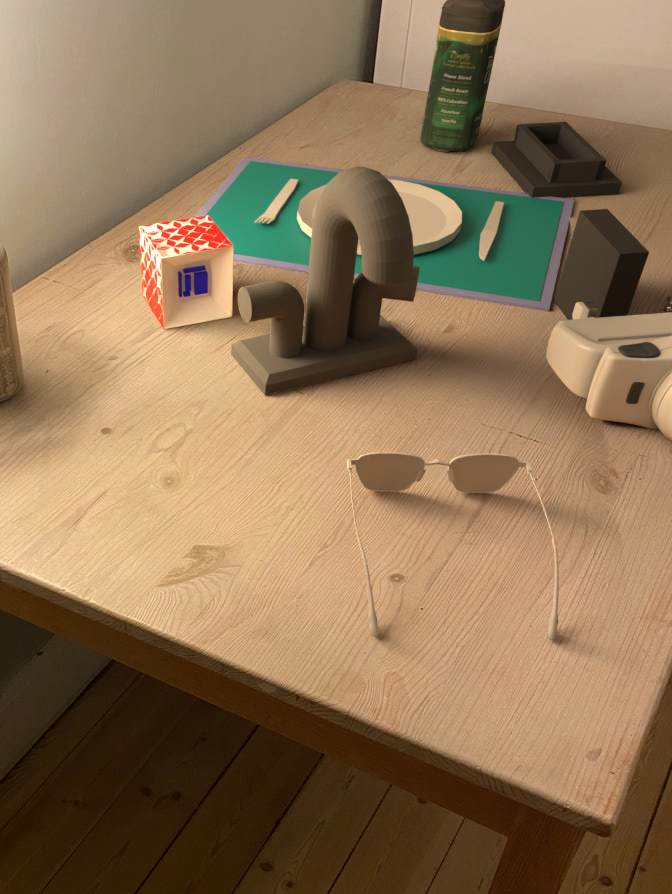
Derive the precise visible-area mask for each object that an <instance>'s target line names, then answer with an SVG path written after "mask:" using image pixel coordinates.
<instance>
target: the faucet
mask: <svg viewBox="0 0 672 894" xmlns="http://www.w3.org/2000/svg"><path fill="white" fill-rule="evenodd" d="M342 170H343V171H341V172H340V173H338V174H337V175H336V176H335V177H334V178H333V179H332V180H331V181H330V182H329V183H328V184H327V185H326V186H325V188H324V190H323V192H322V194H321V196H320V198H319V200H318V202H317V206H316V210H315V214H314V217H313V226H312V236H311V249H310V261H309V273H307V286H306V296H305V297H306V299H305V301H304V299H303V297H302V295H301V293H300V292H299V290H298V289H297V288H296V287H295V286H294V285H293V284H291V283H289V282H286V281H283V280H271V281H266V282H261V283H256V284H250V285H245V286H241V287H240V288H239V290H238V292H237V307H238V311H239V313H240V317H241V318H242V319H241V320H243V321H244V322H245V323H252V322H257V321H262V320H266V319H270V325H269V327H270V328H269V333H267V334H262V335H257V336H253V337H249V338H245V339H241V340H238V341H236V342H233V343H232V344H231V346H230V354H231V357H233V359H235V361H236V362H237V363H238V365H239V366H240V367H241V368H242V369H243V371H244V372H245V373H246V374H247V375H248V377H249V378H250V379H251V380H252V382H253V383H254V384H255V386H256V387H257V388H258V389H259V390H260V392H262V394H263V395H264V396H269V395H272V394H277V393H281V392H285V391H288V390H294V389H297V388H301V387H305V386H310V385H314V384H319V383H322V382H326V381H330V380H334V379H339V378H344V377H348V376H351V375H355V374H359V373H364V372H368V371H372V370H376V369H379V368H385V367H388V366H392V365H396V364H400V363H405V362H409V361H413V360H416V359H417V354H418V348H417V347H416V346H415V345H414V344H413V343H412V342H411V341H410V340H409V339H408V338H406V337H405V336H404V335H403V334H402V333H401V332H400V331H399V330H397V328H396V327H394V326H393V325H392V324H391V322H389V321H388V320H387V319H386V318H385V317H384V316H383V315H381V311H382V304H383V299H386V300H387V299H388V300H394V301H404V302H414V301H415V297H416V292H417V291H416V288H417V282H418V276H419V269H420V266H413V262H414V249H413V235H412V230H411V226H410V221H409V216H408V214H407V211H406V208H405V206H404V203H403V201H402V198H401V197H400V195H399V194H398V192H397V190H396V189H395V187H394V186H393V184H392V183H391V182H390V181H389V180H388V179H387V178H385V177H384V176H383V175H384V174H382V172H380V171H378V170H375V169H373V168H370V167H367V166H355V167H350V168H347V169H342ZM358 239H359V242H360V246H361V254H362V272H361V273H360V274H359V275H358V276H357V278H356V279H355V281H354V272H355V264H356V256H357V247H358ZM304 302H305V303H304Z"/></svg>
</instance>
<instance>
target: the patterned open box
mask: <svg viewBox="0 0 672 894" xmlns="http://www.w3.org/2000/svg"><path fill="white" fill-rule="evenodd" d="M138 236H139V249H140V250H139V253H140V255H139V256H140V270H141V271H140V273H141V289H142V293H141V294H142V298H143V299H144V301H145V302H146V303H147V305H148V307H149V308H150V310H151V311H152V313H153V315H154V316H155V318H156V319H157V321H158V323H159V324H160V326H161V328H162V329H163V330H166V329H172V328H179V327H185V326H190V325H194V324H201V323H206V322H211V321H216V320H222V319H227V318H232V317H233V305H234V304H233V302H234V299H233V295H234V294H233V293H234V289H233V288H234V262H233V258H234V246H233V245H232V243H231V242H230V241H229V240H228V239H227V237H226V236H225V235H224V234H223V232H222V231H221V230H220V229H219V228H218V226H217V225H216V224H215V223H214V221H213V220H212V219H211V218H210V216H209V215H207V216H201V217H194V216H193V217H188V218H182V219H176V220H170V221H169V220H168V221H162V222H156V223H150V224H144V225H143V224H142V225H139V226H138Z"/></svg>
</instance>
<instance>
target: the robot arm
mask: <svg viewBox="0 0 672 894" xmlns="http://www.w3.org/2000/svg"><path fill="white" fill-rule="evenodd" d="M597 309H598V308H597V307H596V306H595V305H594V304H593V302H577V303H576V304H575V307H574V310H573V314H572V317H573V320H568V319H562V320H559V321H557V322H556V324H555V325H554V326H553V328H552V330H551V333H550V335H549V339H548V343H547V345H546V346H547V347H546V351H545V352H546V353H545V357H546V361H547V362H548V364H549V366H550V368H551V369H552V370H553V372H554V373H555V374H556V376H557V377H558V378H559V379H560V381H561V382H562V383H563V384H564V385H565V387H566V388H567V389H568V390H569V391H570V392H571V393H573V394H574V395H576V396H578V397H580V398H582V399H586V403H585V412H586V413H587V414H588V416H590V417H591V418H592V419H594V420H599V421H608V422H614V423H615V422H616V423H624V424H630V425H633V426H634V425H635V426H639V427H643V428H646V429H649V430H655V431H660V432H661V434H662V435H663V436H664V437H665V438H666V439H667V440H669V441H670V442H672V295H668V296H667V298H666V302H665V304H664V306H663V312H657V313H656V312H655V313H643V314H642V313H641V314H632V315H631V314H630V315H629V314H627V316H615V317H601V318H595V317H594V316H595V315H596V312H597Z"/></svg>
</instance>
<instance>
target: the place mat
mask: <svg viewBox="0 0 672 894" xmlns="http://www.w3.org/2000/svg"><path fill="white" fill-rule="evenodd" d="M343 170H344V169H341V168H333V167H327V166H318V165H309V164H302V163H294V162H288V161H287V162H286V161H279V160H271V159H263V158H262V159H261V158H255V157H248V156H244V158H243V159H241V161H240V162H239V163H238V164H237V166H236V167H235V168H234V169H233V171H232V172H231V173H230V174H229V175H228V176H227V177H226V178H225V180H224V181H223V182H222V184H221V185H220V186H219V187H218V188H217V189H216V190H215V192H214V193H213V194H212V195H211V197H209V199H208V200H207V201H206V202H205V203H204V204H203V206H202V207H201V208H200V209H199V210H198V212H197V213H196V214H195V215H194V216H193V218H194V217H201V216H207V215H209V216H210V218H211V219H212V220H213V221H214V223H215V224H216V225H217V226H218V228H219V229H220V230H221V231H222V232H223V234H224V235H225V236H226V237H227V239H228V240H229V241H230V242H231V243H232V245H233V246H234V258H233V261H235V262H234V263H239V262H241V263H240V264H245V263H247V264H246V265H252V266H257V265H259V266H258V267H264V266H265V268H270V267H272V268H271V269H276V268H277V269H276V270H283V271H290V272H295V271H297V272H296V273H302V272H304V273H303V274H308V273H309V261H310V249H311V236H312V226H313V217H314V214H315V210H316V206H317V202H318V200H319V198H320V196H321V194H322V192H323V190H324V188H325V186H326V185H327V184H328V183H329V182H330V181H331V180H332V179H333V178H334V177H335V176H336V175H337V174H338V173H340V172H341V171H343ZM382 175H383V176H384V177H385V178H387V179H388V180H389V181H390V182H391V183H392V184H393V186H394V187H395V189H396V190H397V192H398V194H399V195H400V197H401V198H402V201H403V203H404V206H405V208H406V211H407V214H408V216H409V221H410V226H411V230H412V235H413V249H414V262H413V266H420V269H419V276H418V282H417V288H416V292H421V293H428V294H435V295H442V296H447V297H454V298H460V299H465V300H466V299H467V300H473V301H479V302H485V303H491V304H498V305H503V306H511V307H517V308H524V309H530V310H535V311H536V310H537V311H542V312H549V311H550V308H551V304H552V299H553V294H554V291H555V286H556V282H557V277H558V273H559V269H560V264H561V260H562V255H563V250H564V247H565V243H566V238H567V234H568V229H569V224H570V218H571V216H572V211H573V207H574V203H575V199H573V198H568V197H534V198H532V197H530V196H529V195H528V193H525V192H519V191H511V190H504V189H496V188H488V187H482V186H472V185H466V184H458V183H450V182H442V181H436V180H435V181H434V180H428V179H427V180H426V179H419V178H411V177H404V176H397V175H396V176H395V175H387V174H382ZM361 272H362V254H361V246H360V242H359V239H358V247H357V256H356V264H355V272H354V281H355V279H356V278H357V276H358V275H359V274H360V273H361ZM354 281H353V282H354Z"/></svg>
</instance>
